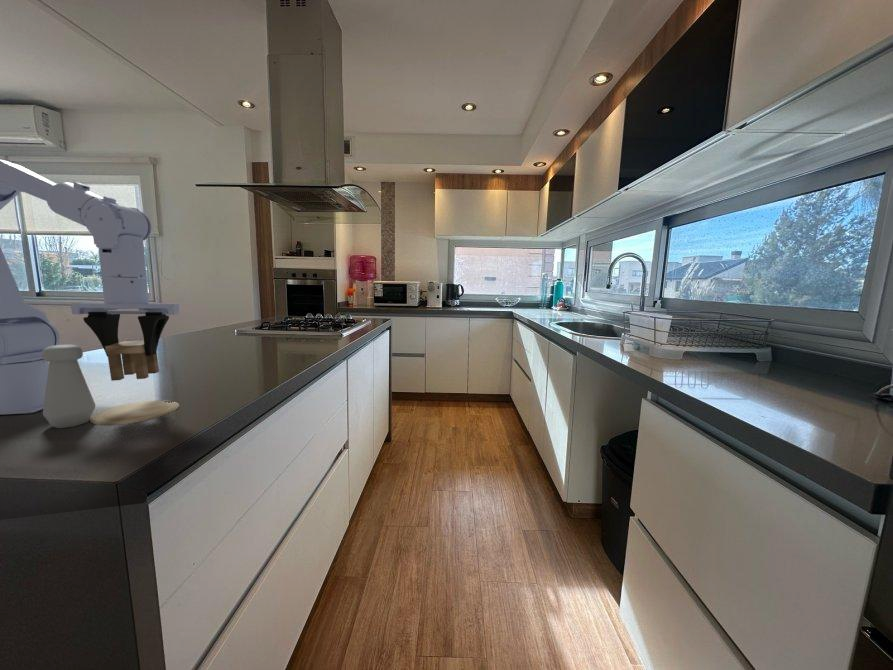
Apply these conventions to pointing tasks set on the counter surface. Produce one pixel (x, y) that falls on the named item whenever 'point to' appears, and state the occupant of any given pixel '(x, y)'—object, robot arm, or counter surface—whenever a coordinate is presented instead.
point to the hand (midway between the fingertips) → (132, 355)
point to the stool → (130, 360)
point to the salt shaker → (66, 388)
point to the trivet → (133, 412)
